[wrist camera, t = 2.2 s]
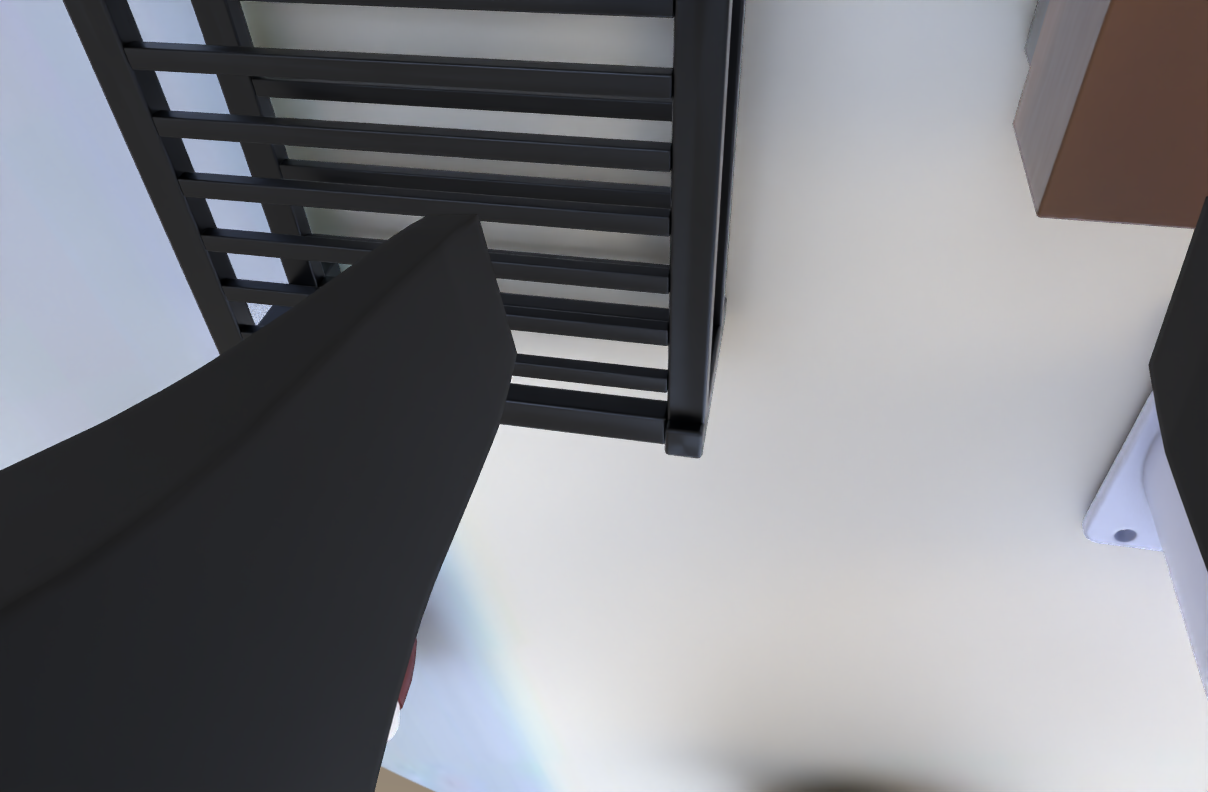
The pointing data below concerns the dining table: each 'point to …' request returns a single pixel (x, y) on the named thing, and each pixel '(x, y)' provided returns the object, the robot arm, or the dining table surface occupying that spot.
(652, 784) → the dining table surface
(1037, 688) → the dining table surface
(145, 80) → the shoe rack
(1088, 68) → the shoe brush
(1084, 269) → the dining table surface
